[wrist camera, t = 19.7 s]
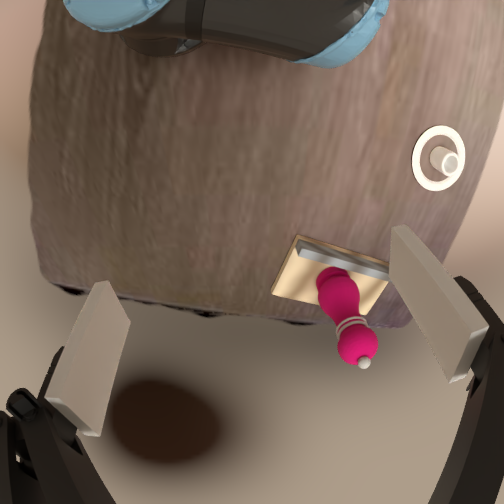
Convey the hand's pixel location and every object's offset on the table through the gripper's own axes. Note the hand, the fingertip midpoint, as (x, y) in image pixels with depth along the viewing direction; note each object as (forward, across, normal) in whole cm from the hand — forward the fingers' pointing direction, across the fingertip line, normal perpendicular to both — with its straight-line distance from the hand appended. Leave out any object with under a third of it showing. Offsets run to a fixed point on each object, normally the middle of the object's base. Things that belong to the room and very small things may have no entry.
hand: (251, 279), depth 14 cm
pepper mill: (+33, +11, -28) cm, 45 cm away
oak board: (+35, +12, -29) cm, 47 cm away
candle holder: (+35, +33, -9) cm, 49 cm away
